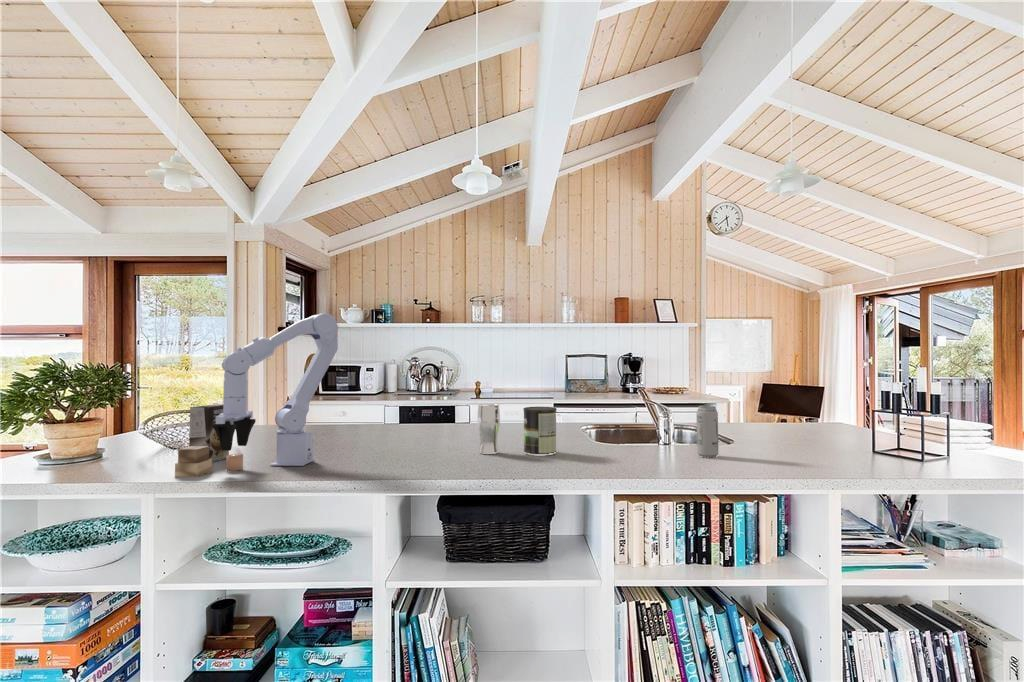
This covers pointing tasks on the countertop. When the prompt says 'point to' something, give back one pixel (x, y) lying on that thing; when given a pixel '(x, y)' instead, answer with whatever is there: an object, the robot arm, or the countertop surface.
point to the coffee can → (539, 430)
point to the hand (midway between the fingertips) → (234, 448)
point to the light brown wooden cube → (234, 462)
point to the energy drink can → (707, 431)
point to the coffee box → (206, 430)
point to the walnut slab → (193, 454)
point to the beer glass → (488, 427)
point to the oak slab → (193, 468)
